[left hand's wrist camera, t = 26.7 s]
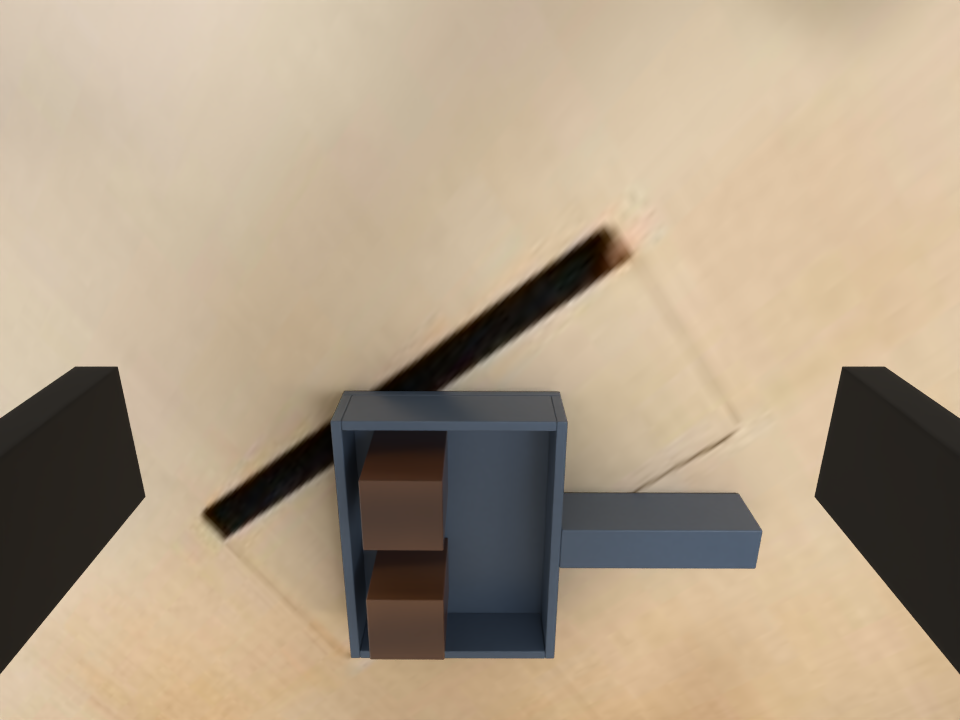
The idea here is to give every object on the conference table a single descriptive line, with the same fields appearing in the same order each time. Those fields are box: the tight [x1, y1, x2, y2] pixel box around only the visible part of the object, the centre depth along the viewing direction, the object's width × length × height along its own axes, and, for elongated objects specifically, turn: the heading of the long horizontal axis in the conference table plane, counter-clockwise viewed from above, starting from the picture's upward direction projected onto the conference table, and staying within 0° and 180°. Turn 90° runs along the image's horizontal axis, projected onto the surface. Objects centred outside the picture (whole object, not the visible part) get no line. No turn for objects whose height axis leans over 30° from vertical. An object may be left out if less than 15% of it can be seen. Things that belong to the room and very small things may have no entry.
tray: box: [331, 391, 762, 658], centre depth 43 cm, size 25×17×4 cm
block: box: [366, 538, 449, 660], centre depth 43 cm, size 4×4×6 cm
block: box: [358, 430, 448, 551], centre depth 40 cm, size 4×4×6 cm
